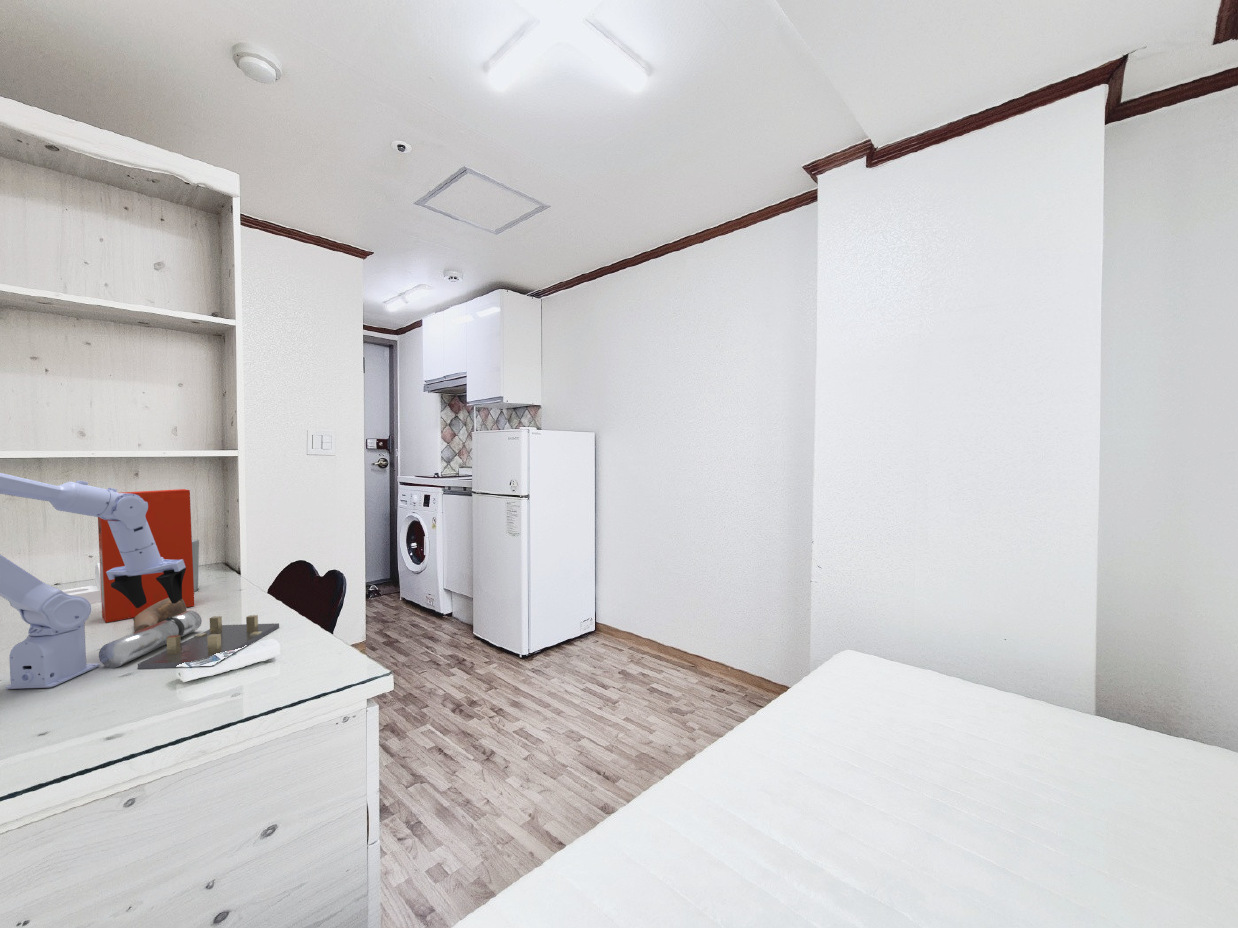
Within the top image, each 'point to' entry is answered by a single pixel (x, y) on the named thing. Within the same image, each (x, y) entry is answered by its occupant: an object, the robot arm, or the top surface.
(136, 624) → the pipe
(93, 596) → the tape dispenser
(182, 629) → the silver long rounded block
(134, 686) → the top surface
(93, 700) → the top surface
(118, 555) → the file binder
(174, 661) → the grey plate with pegs
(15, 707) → the top surface
